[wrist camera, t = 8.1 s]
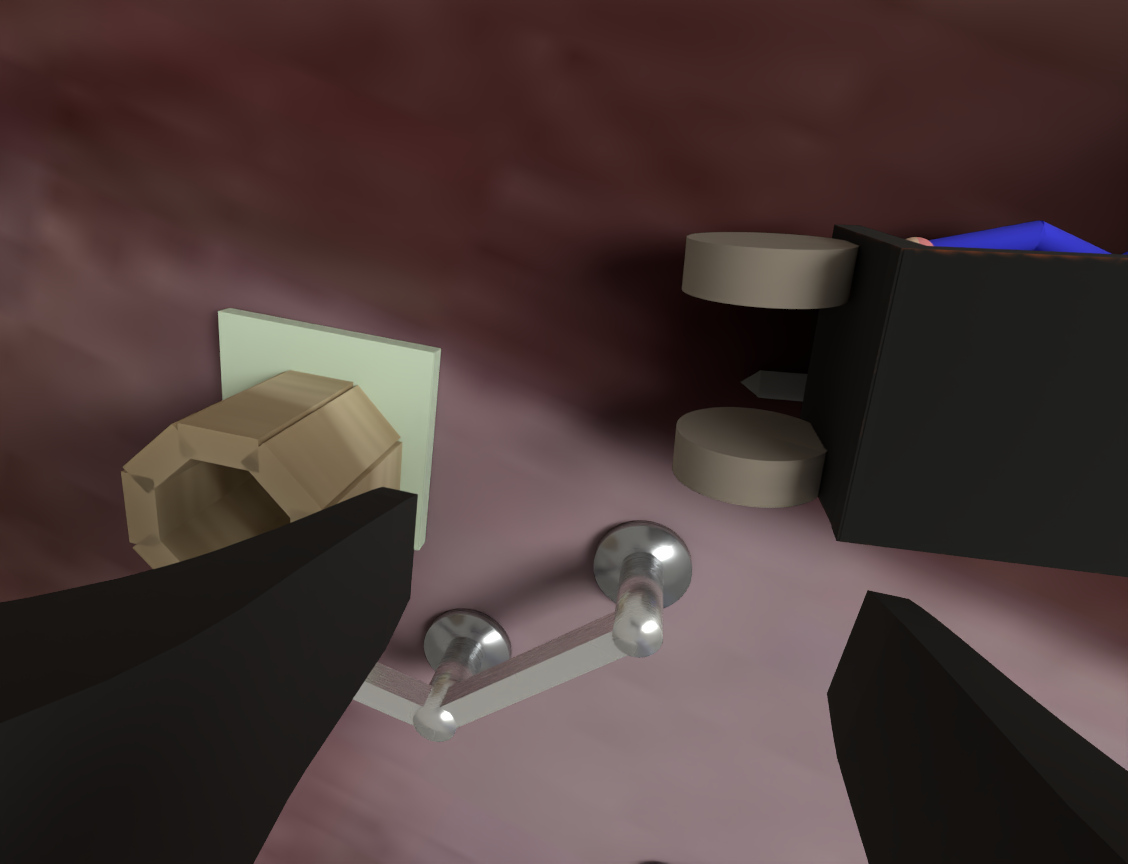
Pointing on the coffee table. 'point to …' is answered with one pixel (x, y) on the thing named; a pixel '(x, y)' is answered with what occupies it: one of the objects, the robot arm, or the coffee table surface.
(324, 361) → the pad
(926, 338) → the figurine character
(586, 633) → the grey piece
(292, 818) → the coffee table surface
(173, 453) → the maple ring
